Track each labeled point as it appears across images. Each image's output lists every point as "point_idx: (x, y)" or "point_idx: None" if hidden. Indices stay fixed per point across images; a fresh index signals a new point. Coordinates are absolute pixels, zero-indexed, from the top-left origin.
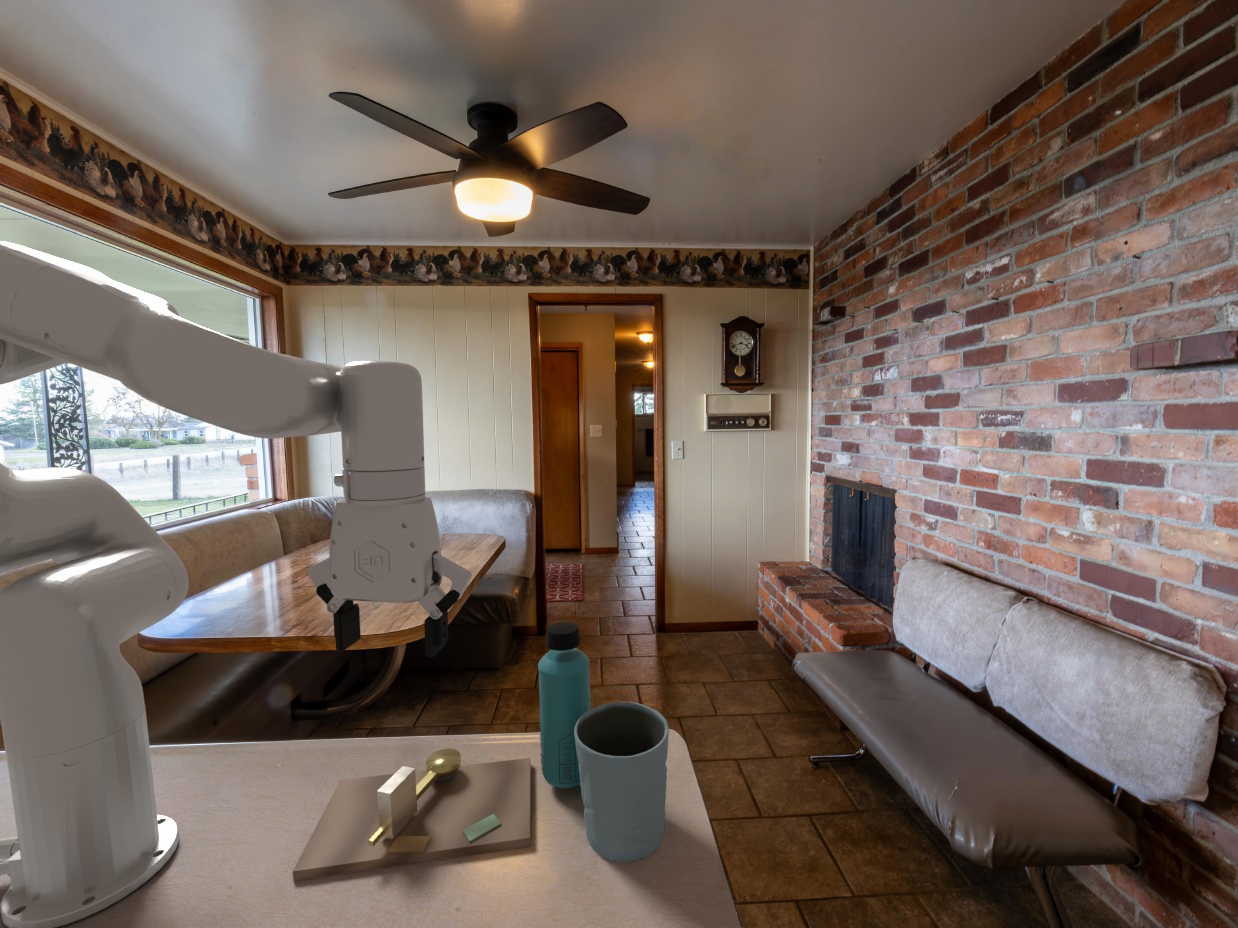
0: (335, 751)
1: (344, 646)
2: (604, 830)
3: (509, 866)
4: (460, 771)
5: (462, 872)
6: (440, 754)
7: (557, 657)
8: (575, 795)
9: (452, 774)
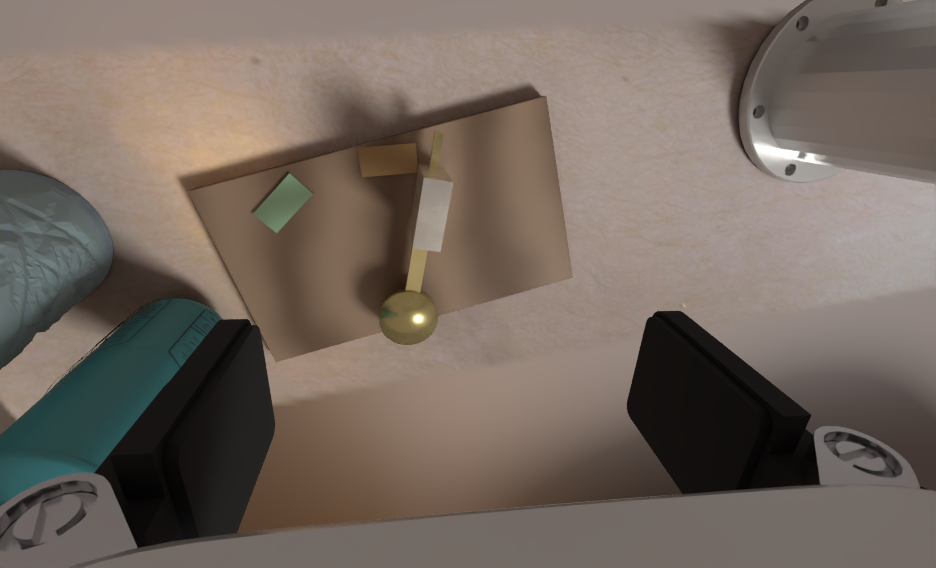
0: (615, 340)
1: (654, 328)
2: (2, 184)
3: (210, 146)
4: None
5: (284, 129)
6: (419, 329)
7: None
8: None
9: None
